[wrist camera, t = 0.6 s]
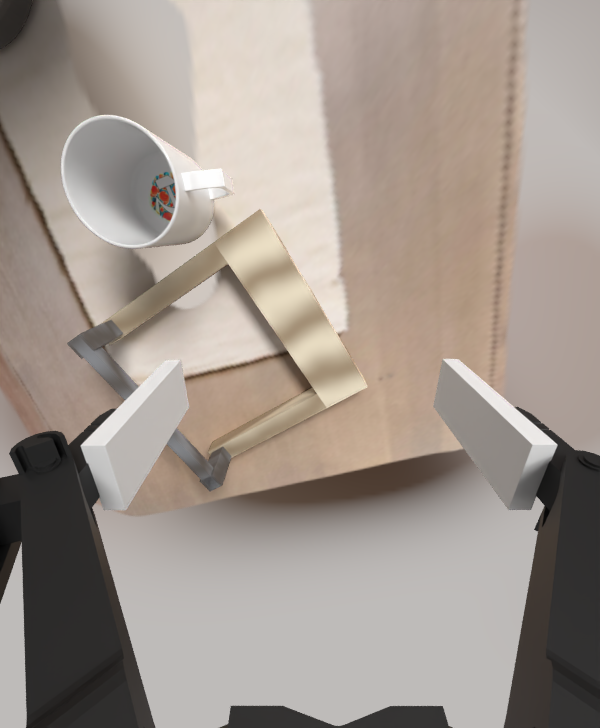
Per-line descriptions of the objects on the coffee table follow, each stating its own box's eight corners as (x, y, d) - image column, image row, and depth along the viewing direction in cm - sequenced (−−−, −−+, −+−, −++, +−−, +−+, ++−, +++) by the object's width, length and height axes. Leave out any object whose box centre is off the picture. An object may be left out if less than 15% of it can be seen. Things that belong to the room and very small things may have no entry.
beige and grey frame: (106, 322, 39) (61, 344, 32) (262, 210, 34) (251, 205, 27) (222, 453, 47) (208, 494, 40) (364, 378, 42) (376, 409, 35)
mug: (149, 248, 36) (85, 254, 26) (124, 157, 32) (39, 123, 22) (252, 236, 35) (229, 237, 25) (237, 142, 32) (204, 99, 21)
